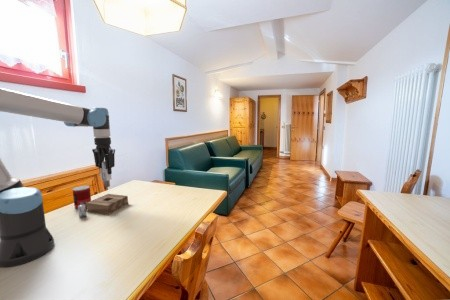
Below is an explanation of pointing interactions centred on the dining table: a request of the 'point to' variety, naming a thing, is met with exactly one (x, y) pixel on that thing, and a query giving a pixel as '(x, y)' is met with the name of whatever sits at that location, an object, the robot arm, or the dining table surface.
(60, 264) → the dining table surface
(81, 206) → the short pin
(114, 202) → the hole block
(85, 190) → the canned food
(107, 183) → the long pin
